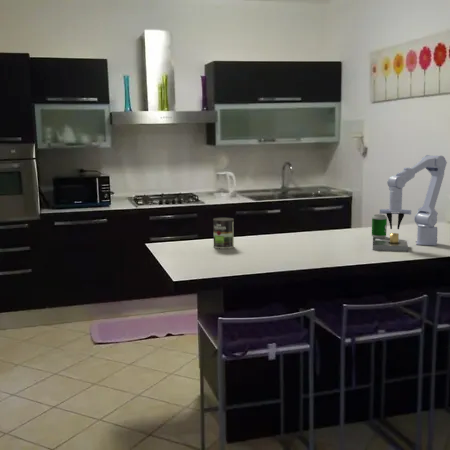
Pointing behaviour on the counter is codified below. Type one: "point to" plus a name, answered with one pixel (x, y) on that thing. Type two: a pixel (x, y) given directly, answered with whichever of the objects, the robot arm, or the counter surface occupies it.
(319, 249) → the counter surface
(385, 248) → the jig
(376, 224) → the soda can
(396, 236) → the bushing
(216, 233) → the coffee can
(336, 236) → the counter surface
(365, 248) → the counter surface
